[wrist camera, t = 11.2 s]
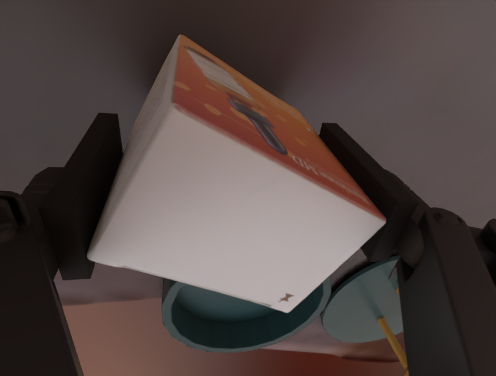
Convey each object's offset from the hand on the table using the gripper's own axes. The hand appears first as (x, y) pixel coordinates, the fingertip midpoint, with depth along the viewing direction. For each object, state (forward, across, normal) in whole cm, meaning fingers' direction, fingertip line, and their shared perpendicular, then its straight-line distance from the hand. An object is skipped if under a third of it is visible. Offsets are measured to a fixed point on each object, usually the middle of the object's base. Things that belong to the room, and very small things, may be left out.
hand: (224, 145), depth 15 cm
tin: (+6, +4, -18) cm, 19 cm away
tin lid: (+6, +22, -23) cm, 32 cm away
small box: (+4, 0, 0) cm, 4 cm away
